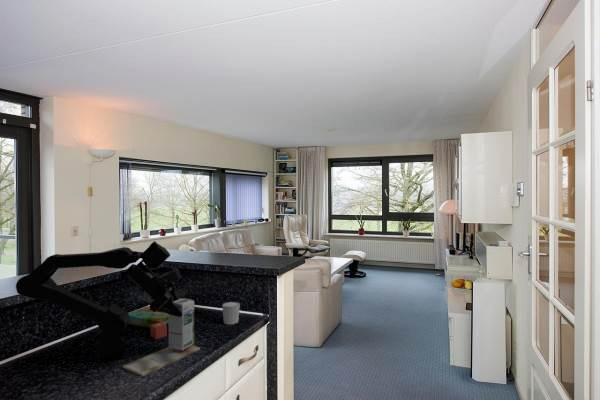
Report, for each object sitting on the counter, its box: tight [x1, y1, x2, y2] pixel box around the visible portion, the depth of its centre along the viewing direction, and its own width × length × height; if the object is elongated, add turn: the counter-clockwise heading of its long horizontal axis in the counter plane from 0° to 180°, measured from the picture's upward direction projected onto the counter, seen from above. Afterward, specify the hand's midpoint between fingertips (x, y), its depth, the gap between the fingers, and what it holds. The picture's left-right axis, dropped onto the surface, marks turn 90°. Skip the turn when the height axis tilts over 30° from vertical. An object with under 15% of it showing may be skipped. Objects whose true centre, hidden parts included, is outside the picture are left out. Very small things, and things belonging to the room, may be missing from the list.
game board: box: [122, 344, 201, 377], centre depth 112 cm, size 21×9×1 cm, turn 148°
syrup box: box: [168, 298, 195, 350], centre depth 117 cm, size 6×6×14 cm
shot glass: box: [221, 301, 241, 325], centre depth 144 cm, size 7×7×7 cm
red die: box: [150, 322, 168, 340], centre depth 129 cm, size 4×4×4 cm
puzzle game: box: [127, 305, 169, 329], centre depth 142 cm, size 12×5×20 cm
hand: (182, 311), depth 117 cm, fingers closed on syrup box, 7 cm apart
